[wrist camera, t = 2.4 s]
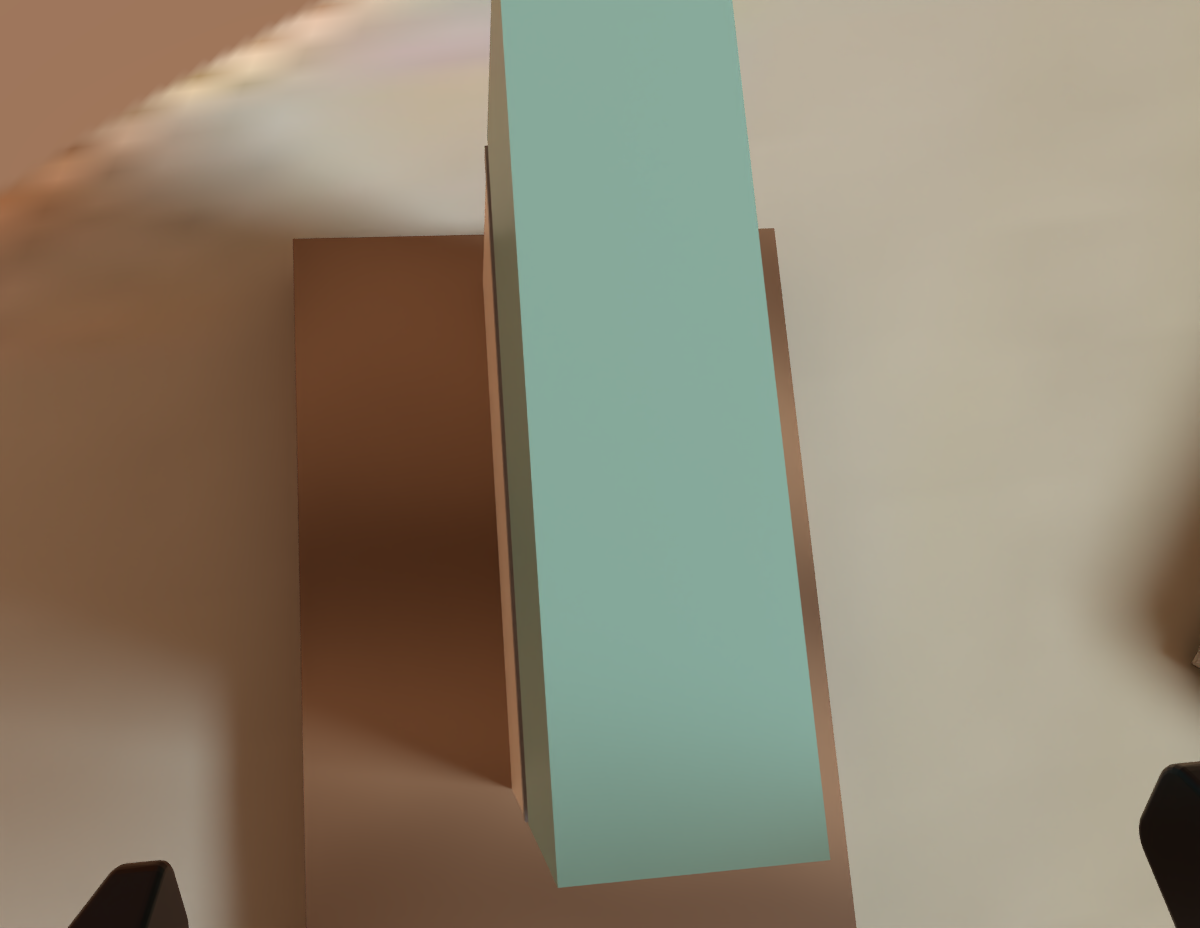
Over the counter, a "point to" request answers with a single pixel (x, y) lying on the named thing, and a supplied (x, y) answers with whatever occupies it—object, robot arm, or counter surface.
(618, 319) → the mint green pillar
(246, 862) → the counter surface
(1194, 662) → the packaged product
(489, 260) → the beige rectangular block
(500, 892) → the brown flat block
